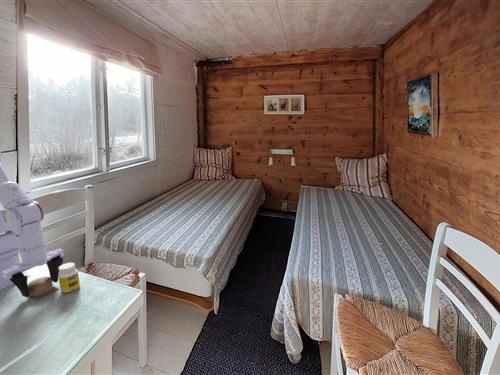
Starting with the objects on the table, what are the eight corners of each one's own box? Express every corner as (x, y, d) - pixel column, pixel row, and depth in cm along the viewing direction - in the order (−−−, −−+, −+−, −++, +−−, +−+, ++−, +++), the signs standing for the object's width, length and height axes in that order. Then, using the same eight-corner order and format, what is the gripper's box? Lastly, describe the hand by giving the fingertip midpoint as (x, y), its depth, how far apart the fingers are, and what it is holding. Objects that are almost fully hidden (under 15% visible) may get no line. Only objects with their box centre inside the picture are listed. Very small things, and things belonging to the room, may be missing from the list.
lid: (25, 295, 76) (22, 285, 76) (45, 284, 81) (43, 275, 81) (37, 299, 74) (34, 289, 73) (57, 288, 79) (55, 279, 78)
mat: (23, 296, 77) (22, 294, 76) (45, 285, 82) (45, 283, 82) (38, 302, 74) (37, 300, 74) (60, 290, 79) (59, 289, 79)
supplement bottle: (71, 297, 76) (66, 271, 74) (57, 295, 77) (52, 269, 75) (84, 287, 81) (80, 262, 79) (71, 285, 82) (66, 261, 80)
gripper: (8, 259, 66) (19, 307, 69) (67, 237, 79) (74, 278, 82) (-7, 254, 69) (4, 300, 72) (52, 234, 82) (59, 273, 85)
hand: (40, 288), depth 78 cm, fingers open, 7 cm apart
